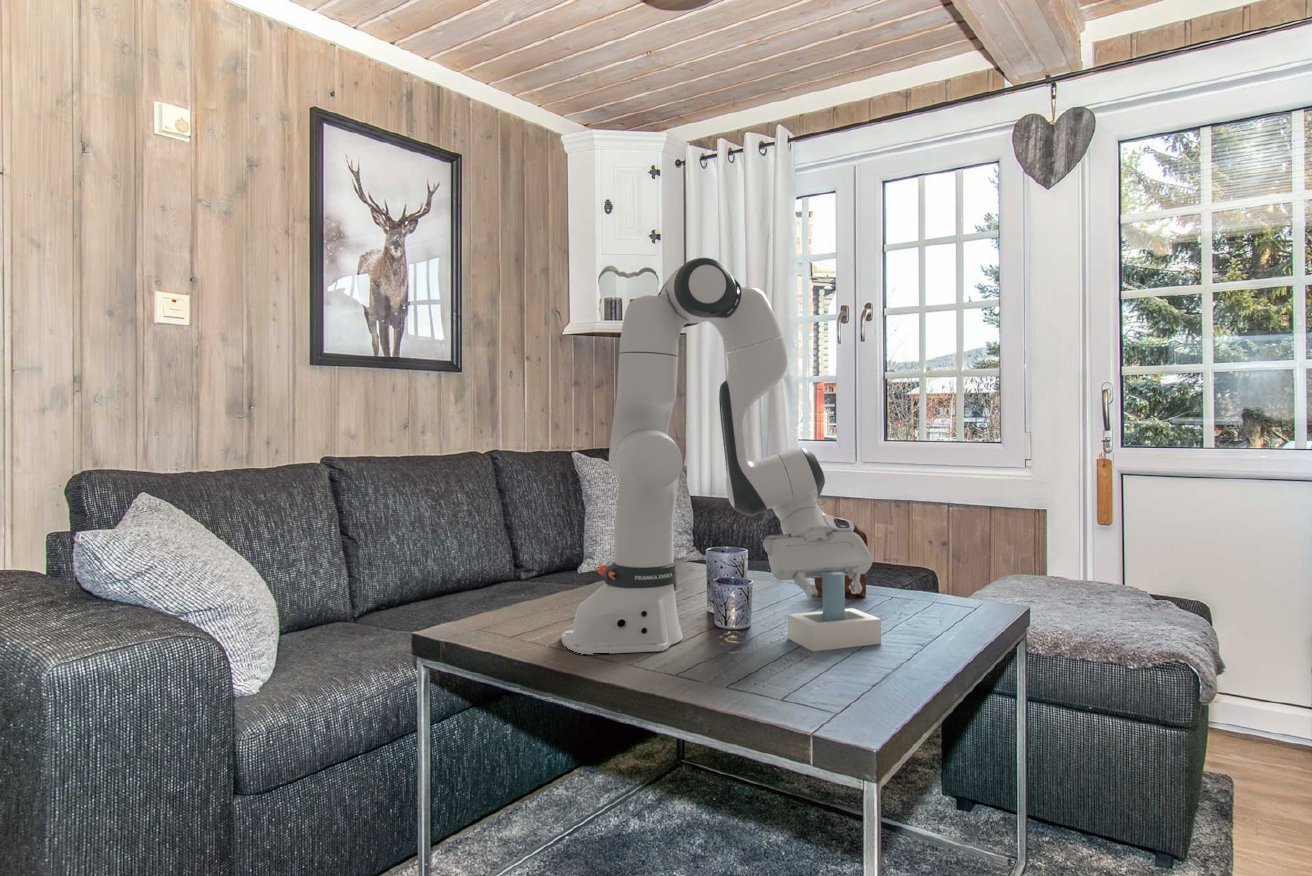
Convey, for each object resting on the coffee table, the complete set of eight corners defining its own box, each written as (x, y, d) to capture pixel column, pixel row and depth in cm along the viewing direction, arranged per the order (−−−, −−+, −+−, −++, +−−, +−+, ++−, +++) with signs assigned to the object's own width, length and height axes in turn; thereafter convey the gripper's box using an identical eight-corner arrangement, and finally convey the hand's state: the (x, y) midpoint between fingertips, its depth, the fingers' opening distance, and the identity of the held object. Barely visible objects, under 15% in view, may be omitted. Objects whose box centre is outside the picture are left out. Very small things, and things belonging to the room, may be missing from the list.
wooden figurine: (821, 600, 178) (821, 520, 177) (812, 594, 184) (812, 517, 184) (871, 598, 179) (871, 519, 179) (860, 592, 186) (860, 516, 185)
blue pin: (830, 642, 142) (829, 575, 142) (818, 636, 146) (818, 572, 145) (849, 639, 143) (848, 574, 143) (837, 634, 147) (836, 570, 147)
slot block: (813, 651, 138) (813, 625, 138) (788, 638, 146) (788, 614, 146) (881, 643, 142) (880, 618, 142) (852, 631, 151) (852, 608, 151)
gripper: (765, 525, 147) (790, 588, 138) (859, 520, 154) (889, 579, 145) (754, 546, 151) (778, 607, 142) (846, 540, 158) (875, 598, 149)
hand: (835, 593), depth 144 cm, fingers open, 8 cm apart
